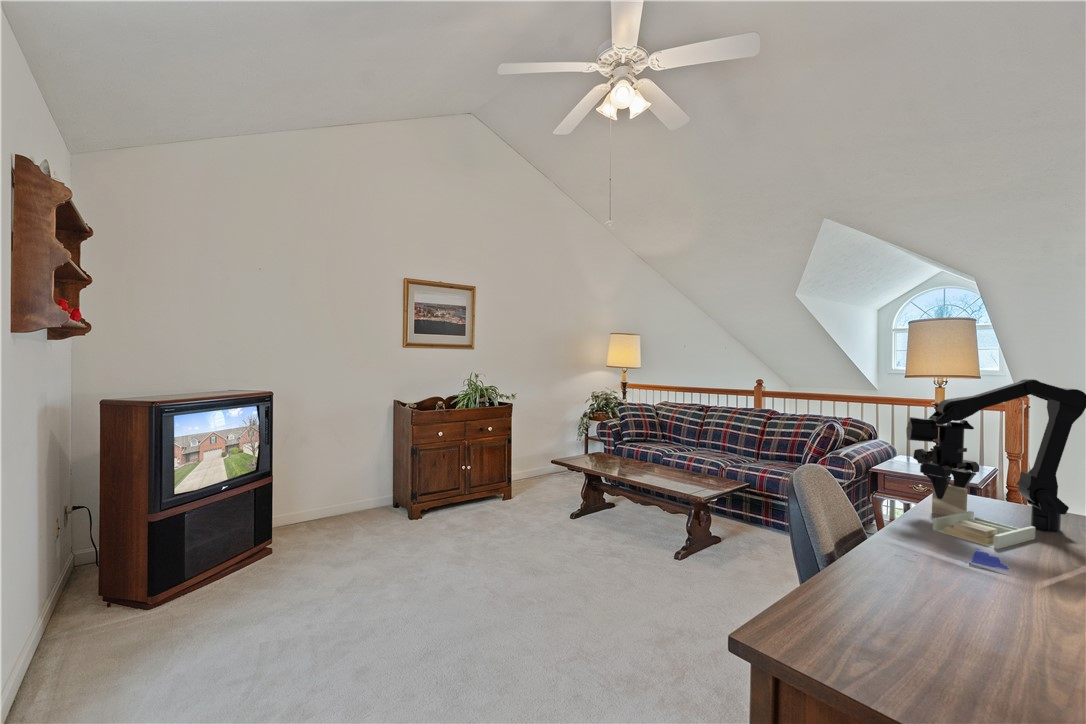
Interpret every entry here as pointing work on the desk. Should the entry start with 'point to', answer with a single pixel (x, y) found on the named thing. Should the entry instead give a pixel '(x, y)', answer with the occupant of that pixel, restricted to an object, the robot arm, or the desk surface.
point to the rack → (1004, 532)
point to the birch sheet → (950, 501)
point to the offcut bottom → (969, 535)
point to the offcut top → (975, 528)
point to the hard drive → (986, 562)
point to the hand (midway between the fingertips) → (948, 497)
